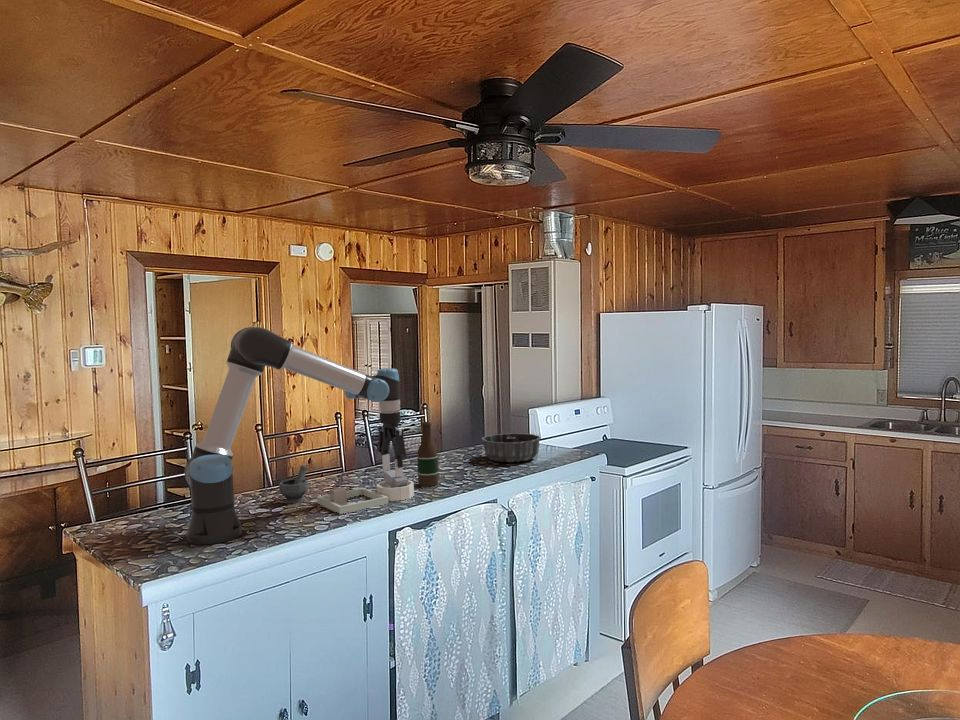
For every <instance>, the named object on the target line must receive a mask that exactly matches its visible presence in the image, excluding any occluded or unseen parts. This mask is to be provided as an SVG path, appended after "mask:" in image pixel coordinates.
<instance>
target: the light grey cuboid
mask: <svg viewBox="0 0 960 720" xmlns="http://www.w3.org/2000/svg"><path fill="white" fill-rule="evenodd" d="M392 477H395V469H394V470H393V469H392V470H390V471H385V472H384V473H383V481H385V482H386V483H387V484H389V485H390V486H391V484H392Z"/></svg>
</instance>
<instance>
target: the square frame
mask: <svg viewBox="0 0 960 720" xmlns="http://www.w3.org/2000/svg"><path fill="white" fill-rule="evenodd" d="M346 494H347V499H350V497H351V498H355V497H354V496H356V497H359V495H361V496H363V495H364V497H366V496H367V497H366V498H369V497H370V498H369V499H368V500H363V501H359V502H354V503H350V504H348V503H347V505H343V506H340V505H338V504H336V503H334V502H332V501H330V493H329V494H324V495H323V494H322V495H319V496H316V503H318V504H317V505H319V504H320V505H319V506H321V505H322V507H323V508H326V509H328V510H330V511H331V512H334V513H336V512H337V513H336V514H338V513H339V515H343V513H344V514H348V512H349V513H352V512H357V511H361V510H362V509H363V510H367V509H370V508H371V507H372V508H375V506H376V507H380V506H379V505H381V506H385V505H389V501H388V497H387V496H384V495H382V494H379V493H377V491H373V490H371V489H368V488H366V487H359V488H355V489H349V490H346ZM371 498H372V499H371ZM384 504H385V505H384ZM366 508H367V509H366Z"/></svg>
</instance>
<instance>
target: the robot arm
mask: <svg viewBox="0 0 960 720" xmlns="http://www.w3.org/2000/svg"><path fill="white" fill-rule="evenodd" d="M225 364H226V365H227V367H228V371H227V373H226V376H225V378H224V382H223V384H222V387H221V389H220V392H219V396H218V398H217V401H216V403H215V406H214V409H213V412H212V414H211V418H210V420H209V423H208V425H207V429H206V431H205V434H204V437H203V439H202V441H201V442H199V443H197V444H195V447H194V449H193V452H192V455H191V457H190V458H189V459H188V461H187V462H186V464H185V467H184V477H185V480H186V482H187V485H188V486H189V487H190V496H191V497H190V499H191V500H190V501H191V517H190V520H189V524H188V526H187V527H188V528H187V531H186V541H187V542H188V543H190V544H192V543H193V544H192V545H213V544H215V545H216V544H220V543H221V544H222V543H225V542H228V541H229V542H230V541H231V540H234V539H236V538H238V537H240V536H241V535H242V533H243V529H242V524H241V521H240V518H239V516H238V514H237V511H236V508H235V495H234V494H235V492H234V475H233V473H234V472H233V471H234V467H233V462H232V461H233V457H234V454H233V451H232V449H231V448H232V446H233V442H234V440H235V437H236V434H237V432H238V429H239V426H240V423H241V420H242V417H243V414H244V412H245V409H246V405H247V404H248V401H249V397H250V396H251V392H252V390H253V386H254V384H255V381H256V378H258V377H259V376H261V375H263V373H264V371H265V368H266V367H269V368H273V369H276V370H278V371H281V370H283V369H285V370H288V371H291V372H293V373H296V374H298V375H302V376H304V377H307V378H310V379H312V380H315V381H318V382H321V383H322V384H325V385H328V386H332V387H334V388H337V389H339V390H342V391H343V392H344V395H345V397H346V398H347V399H349V400H353V399H354V400H357V399H362V400H367V401H371V402H374V403H378V410H379V411H378V412H379V413H378V414H379V423H380V424H382V425H379V426H378V444H377V445H378V449H377V451H378V452H377V453H380V455H381V459H382V464H381V465H382V474H384V472H385V471H391V458H390V457H391V454H390V451H389V449H390V444H392V448H393V452H394V456H395V457H394V458H393V459H394V470H395V477H400V476H403V475H404V471H403V469H404V468H403V467H404V465H403V464H404V463H403V459H404V458H406V457H407V452H406V445H405V438H404V437H405V436H404V429H403V428H399V423H401V421H402V417H401V399H400V398H401V397H400V375H399V369H397V368H380V369H378V370H377V371H376V374H375V375H369V374H365V373H364V372H361V371H359V370H356V369H354V368H351V367H349V366H346V365H344V364H341V363H338V362H336V361H333V360H331V359H328V358H327V357H323V356H321V355H319V354H316V353H313V352H311V351H308V350H306V349H303V348H301V347H299V346H298V347H297V346H296V345H294V343H293V342H292V340H289V339H287V338H284V337H282V336H280V335H278V334H276V333H275V332H272V331H271V330H269V329H267V328H264V327H260V326H256V327H255V326H248V327H243V328H241V329H239V330H238V331H237V332H236V333H235V334H234V335H233V337H232V339H231V342H230V351H229V354H228V355H227V360H226V363H225Z"/></svg>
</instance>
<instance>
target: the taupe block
mask: <svg viewBox="0 0 960 720" xmlns="http://www.w3.org/2000/svg"><path fill="white" fill-rule="evenodd" d="M346 491H347V488H344V487H342V486H341V487H336V488H332V489H331V488H330V489H329V494H330V501H332V502H334V503H336V504H338V505H340V506H343V505H348V500H347V499H348V498H347V494H346Z"/></svg>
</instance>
